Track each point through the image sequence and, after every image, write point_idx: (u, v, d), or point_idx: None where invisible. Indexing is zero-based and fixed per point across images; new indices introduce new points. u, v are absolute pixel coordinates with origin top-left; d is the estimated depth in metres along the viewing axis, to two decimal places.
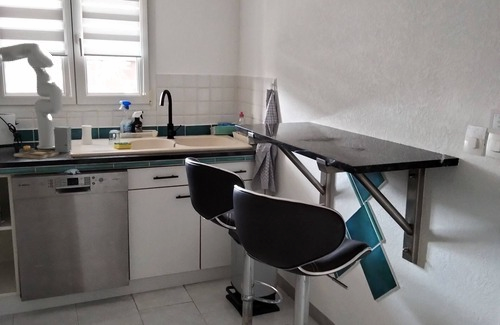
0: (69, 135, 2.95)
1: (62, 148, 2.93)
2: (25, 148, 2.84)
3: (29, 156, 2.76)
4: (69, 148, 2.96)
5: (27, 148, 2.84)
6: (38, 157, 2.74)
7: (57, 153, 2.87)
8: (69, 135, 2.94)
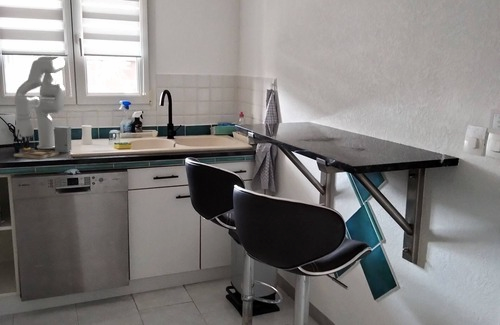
0: (69, 135, 2.95)
1: (62, 148, 2.93)
2: (25, 149, 2.84)
3: (29, 156, 2.76)
4: (69, 148, 2.96)
5: (27, 149, 2.84)
6: (38, 157, 2.74)
7: (57, 153, 2.87)
8: (69, 135, 2.94)
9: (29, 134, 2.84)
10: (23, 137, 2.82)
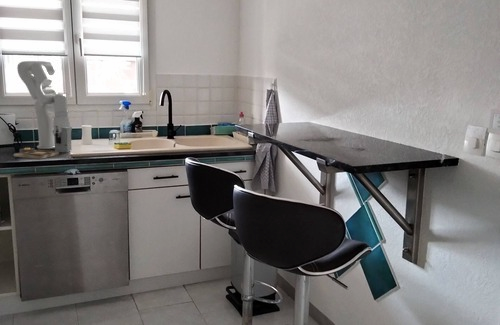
0: (69, 135, 2.95)
1: (62, 148, 2.93)
2: None
3: (29, 156, 2.76)
4: (69, 148, 2.96)
5: None
6: (38, 157, 2.74)
7: (57, 153, 2.87)
8: (69, 135, 2.94)
9: None
10: (58, 132, 2.90)
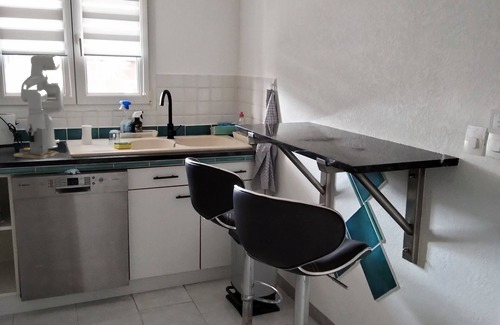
0: (45, 136, 2.80)
1: (38, 150, 2.78)
2: None
3: (29, 156, 2.76)
4: (45, 150, 2.81)
5: None
6: (38, 157, 2.74)
7: (57, 153, 2.87)
8: (44, 136, 2.80)
9: None
10: (31, 130, 2.74)
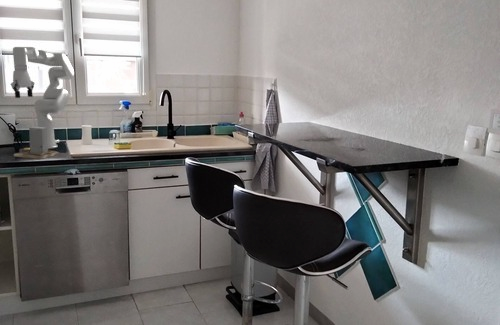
0: (45, 136, 2.80)
1: (38, 150, 2.78)
2: None
3: (29, 156, 2.76)
4: (45, 150, 2.81)
5: None
6: (38, 157, 2.74)
7: (57, 153, 2.87)
8: (45, 136, 2.80)
9: (27, 85, 2.83)
10: (17, 86, 2.78)
